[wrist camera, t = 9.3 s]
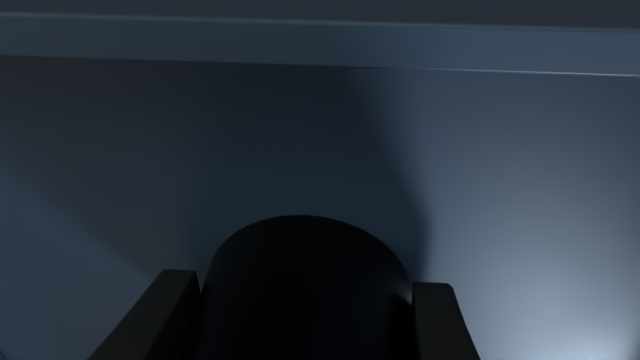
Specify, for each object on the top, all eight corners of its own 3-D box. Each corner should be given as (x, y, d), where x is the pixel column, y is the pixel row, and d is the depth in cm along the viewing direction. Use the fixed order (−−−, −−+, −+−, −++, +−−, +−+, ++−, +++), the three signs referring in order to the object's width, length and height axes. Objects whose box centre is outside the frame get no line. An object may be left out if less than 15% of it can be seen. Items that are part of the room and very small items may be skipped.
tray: (932, -25, 7) (1078, 40, 6) (632, 454, 15) (661, 540, 13) (-225, -46, 9) (-360, 2, 7) (29, 404, 16) (-9, 476, 15)
